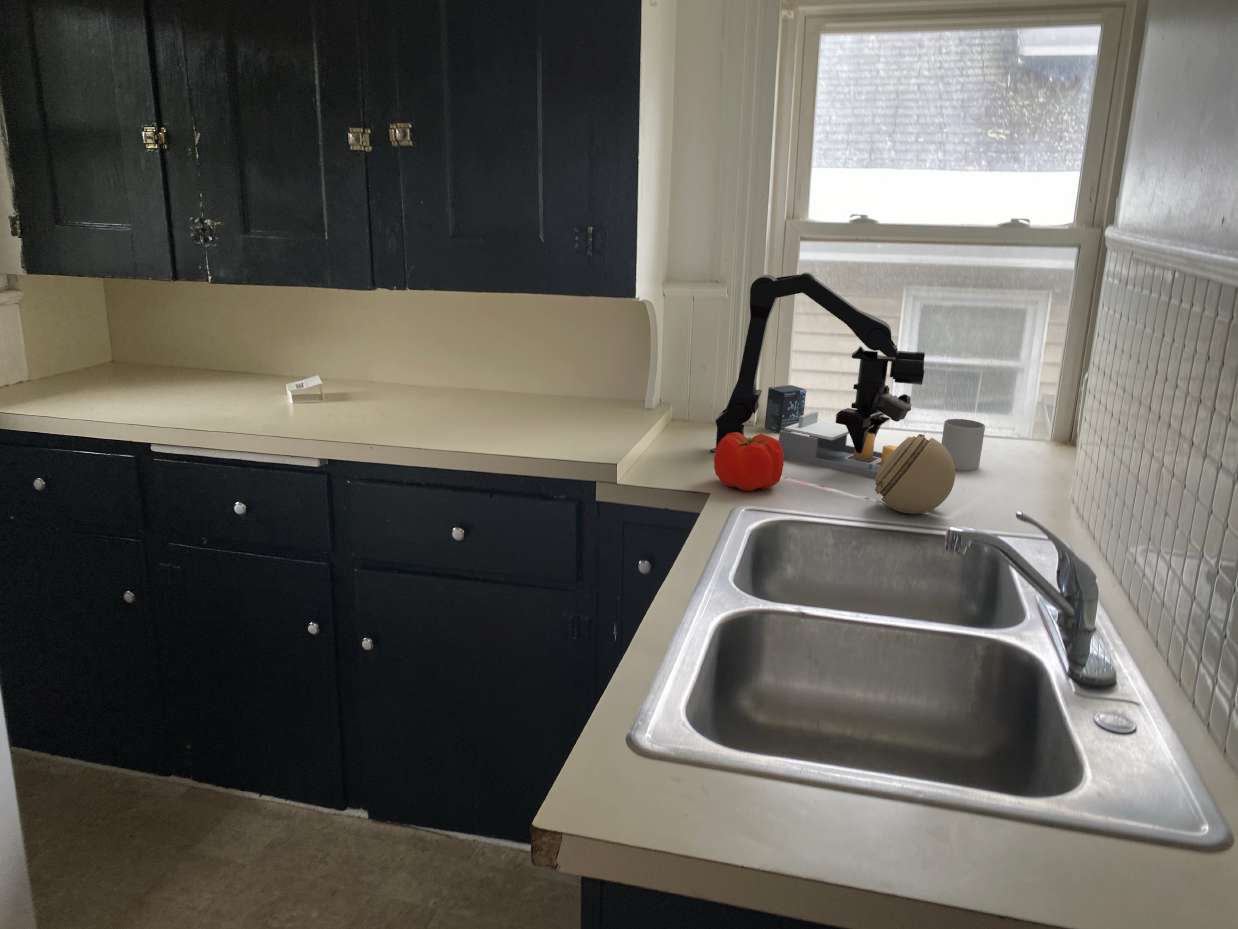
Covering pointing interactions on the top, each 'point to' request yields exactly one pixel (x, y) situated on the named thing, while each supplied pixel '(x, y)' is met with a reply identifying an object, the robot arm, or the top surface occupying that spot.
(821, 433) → the lid
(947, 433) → the cup
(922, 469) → the mechanical component
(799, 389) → the box
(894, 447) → the orange cylinder
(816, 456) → the housing
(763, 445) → the tomato
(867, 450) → the orange rounded cylinder
